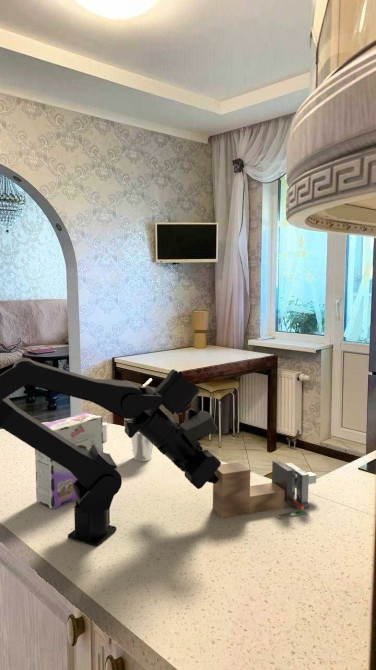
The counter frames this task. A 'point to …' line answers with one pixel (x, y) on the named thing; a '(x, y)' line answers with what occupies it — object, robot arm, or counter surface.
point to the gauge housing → (298, 491)
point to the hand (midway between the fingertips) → (216, 481)
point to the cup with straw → (141, 443)
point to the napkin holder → (105, 431)
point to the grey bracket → (288, 480)
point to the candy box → (54, 477)
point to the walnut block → (243, 492)
